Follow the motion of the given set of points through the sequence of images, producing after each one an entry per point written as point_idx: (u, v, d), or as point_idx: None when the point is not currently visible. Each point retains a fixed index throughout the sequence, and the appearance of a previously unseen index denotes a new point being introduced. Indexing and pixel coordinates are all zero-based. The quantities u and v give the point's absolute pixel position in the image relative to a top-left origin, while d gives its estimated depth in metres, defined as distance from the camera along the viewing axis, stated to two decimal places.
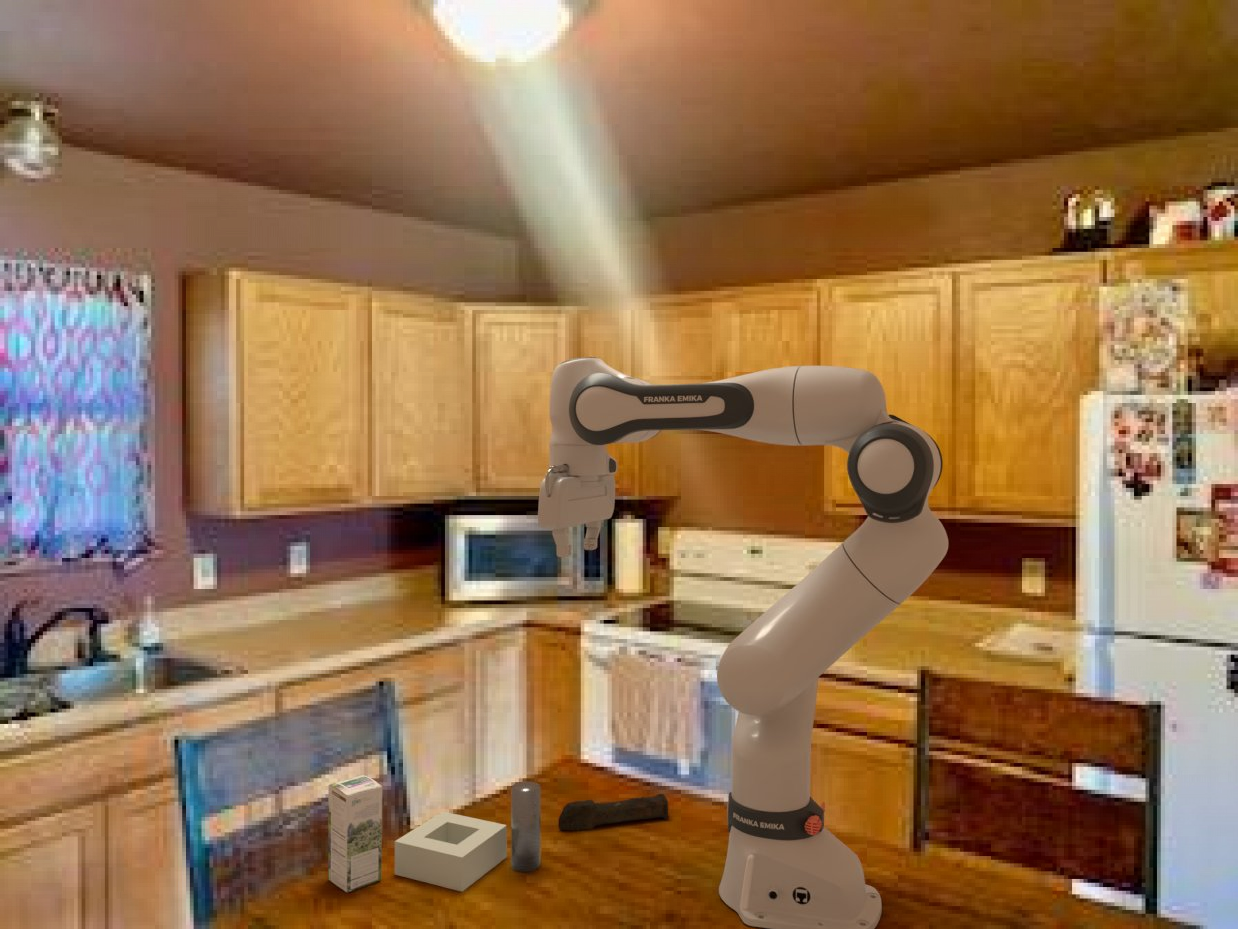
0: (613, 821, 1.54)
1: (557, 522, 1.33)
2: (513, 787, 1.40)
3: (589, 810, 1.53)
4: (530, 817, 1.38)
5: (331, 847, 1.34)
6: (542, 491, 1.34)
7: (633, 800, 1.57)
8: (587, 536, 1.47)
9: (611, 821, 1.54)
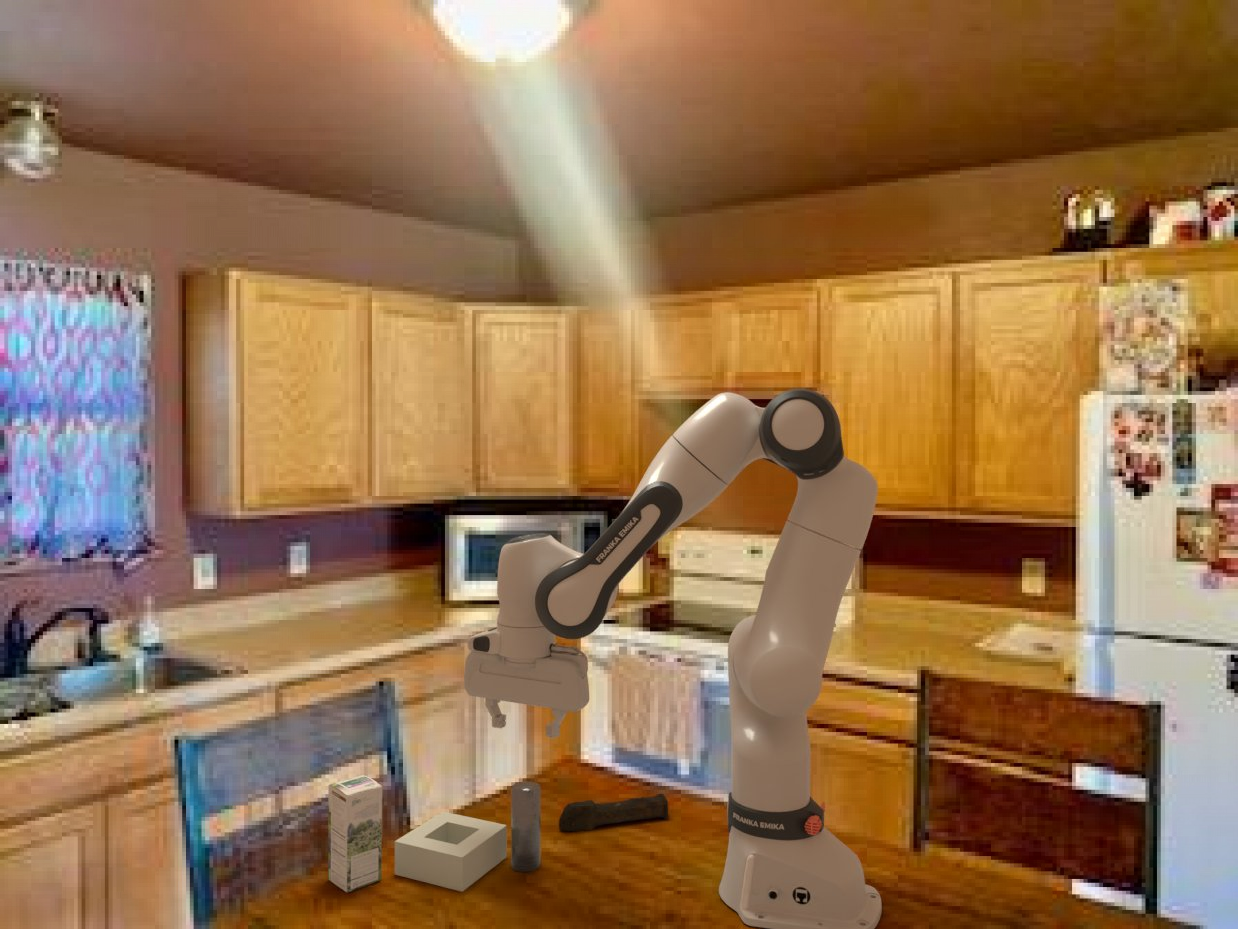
0: (613, 821, 1.54)
1: None
2: (513, 787, 1.40)
3: (589, 810, 1.53)
4: (530, 817, 1.38)
5: (331, 847, 1.34)
6: (578, 675, 1.34)
7: (633, 800, 1.57)
8: (495, 714, 1.41)
9: (611, 821, 1.54)
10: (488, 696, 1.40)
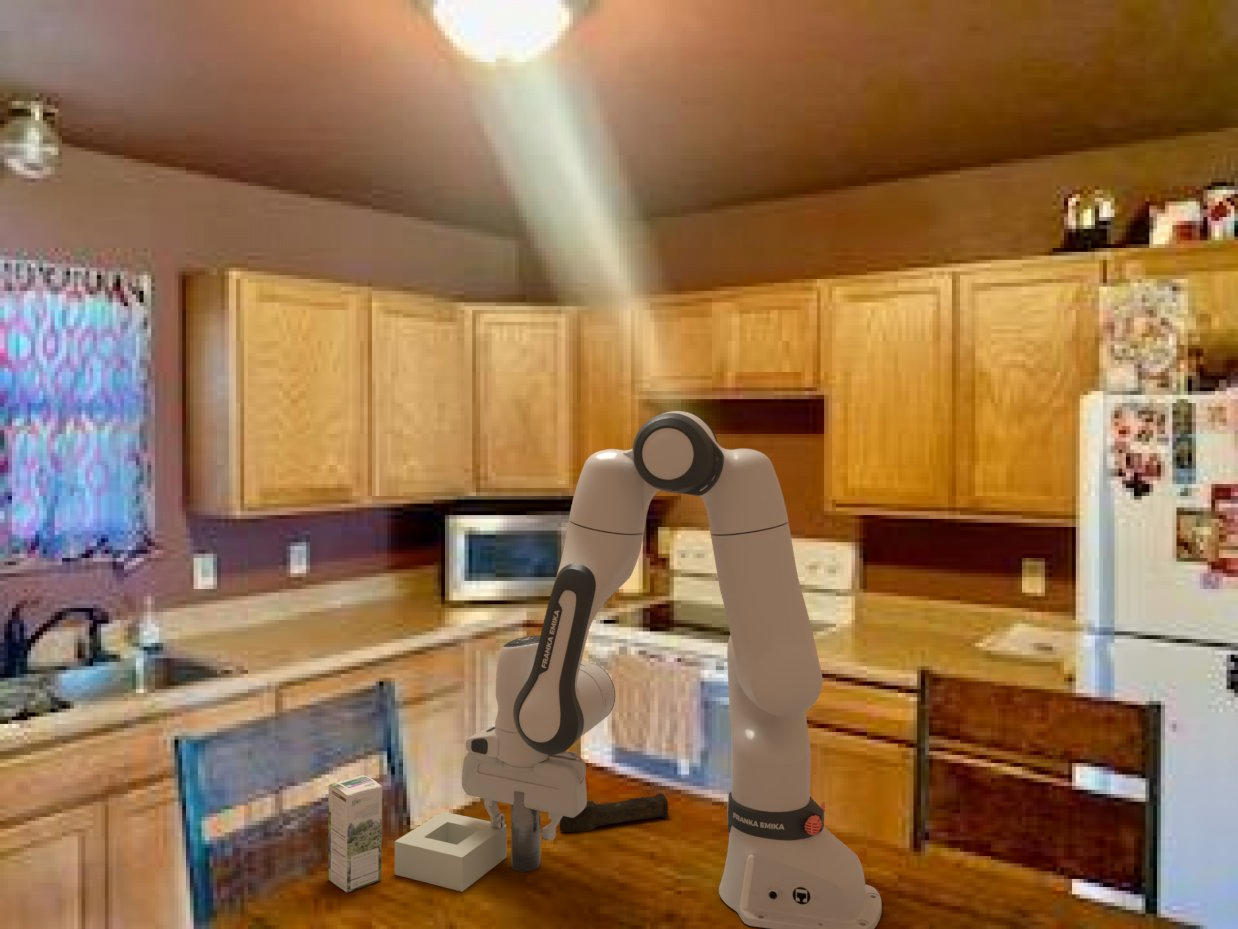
0: (614, 822, 1.54)
1: (586, 804, 1.37)
2: None
3: (590, 811, 1.52)
4: (530, 817, 1.38)
5: (331, 847, 1.34)
6: (576, 781, 1.35)
7: (633, 800, 1.57)
8: (494, 815, 1.41)
9: (612, 822, 1.54)
10: (486, 797, 1.41)
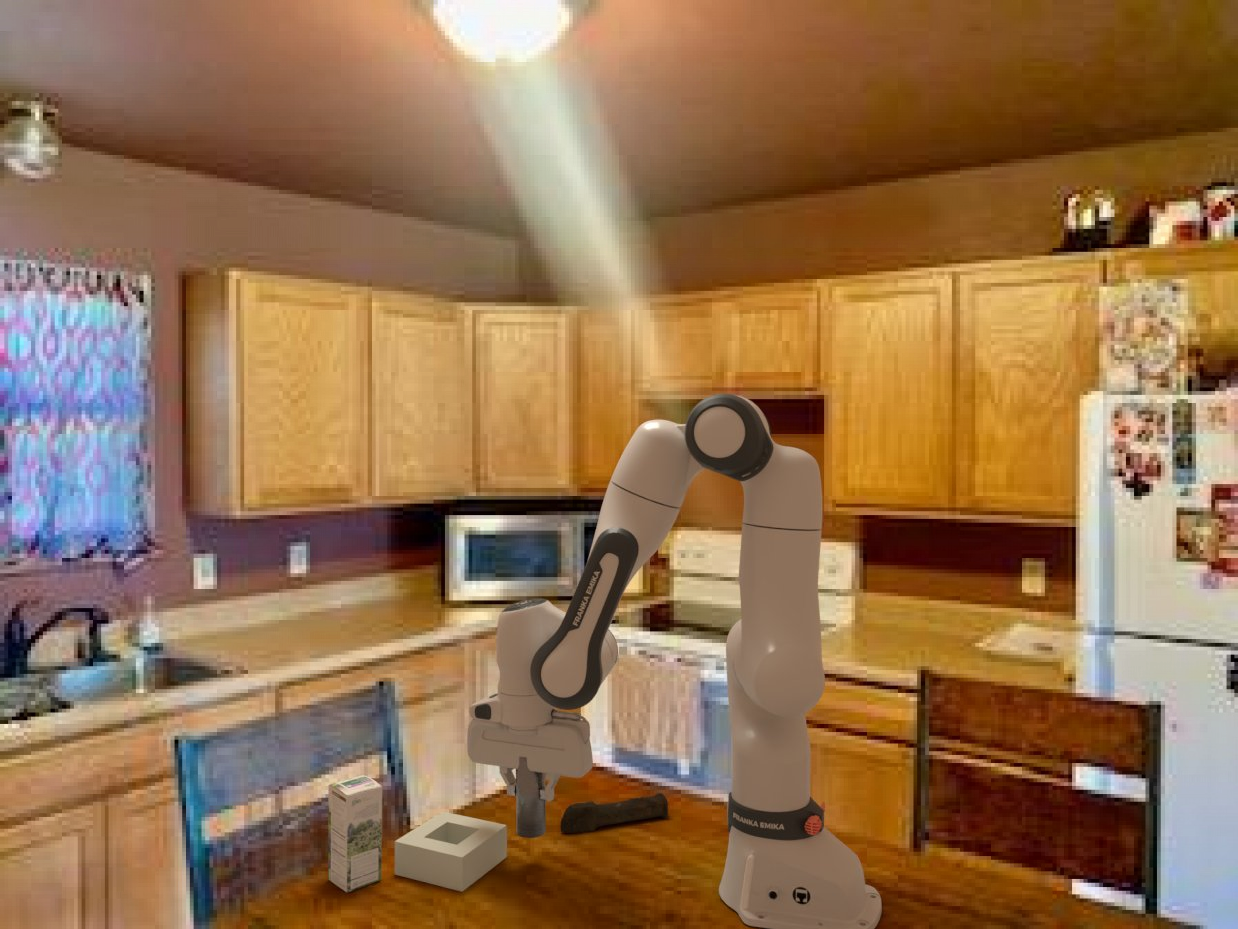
0: (614, 822, 1.54)
1: (592, 764, 1.37)
2: None
3: (591, 811, 1.52)
4: (535, 782, 1.38)
5: (331, 847, 1.34)
6: (580, 741, 1.34)
7: (633, 800, 1.57)
8: (510, 782, 1.41)
9: (612, 822, 1.54)
10: (492, 763, 1.40)
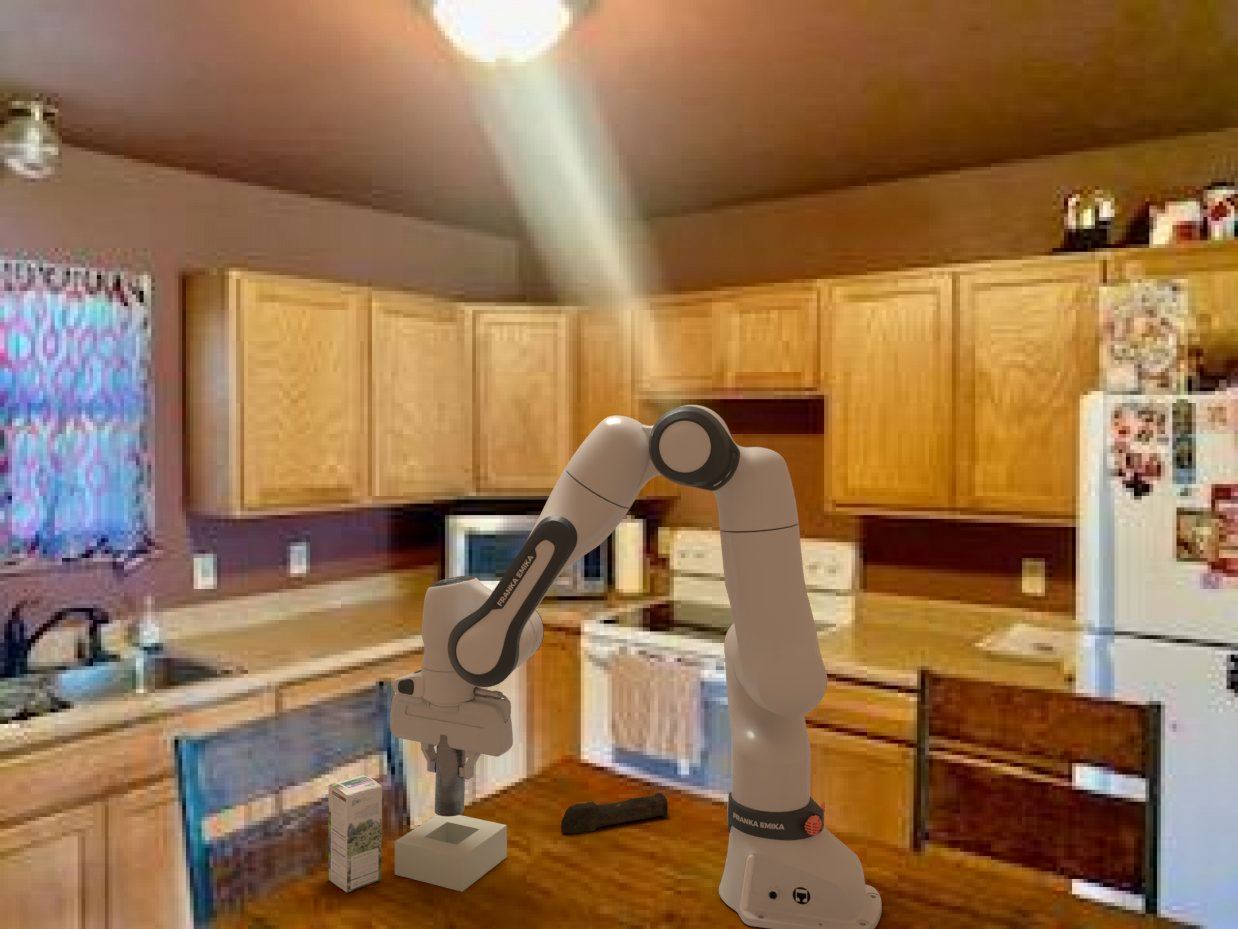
0: (615, 822, 1.54)
1: (512, 744, 1.37)
2: None
3: (591, 811, 1.52)
4: (455, 761, 1.38)
5: (331, 847, 1.34)
6: (500, 719, 1.34)
7: (633, 800, 1.57)
8: (431, 759, 1.40)
9: (613, 822, 1.54)
10: (413, 738, 1.40)
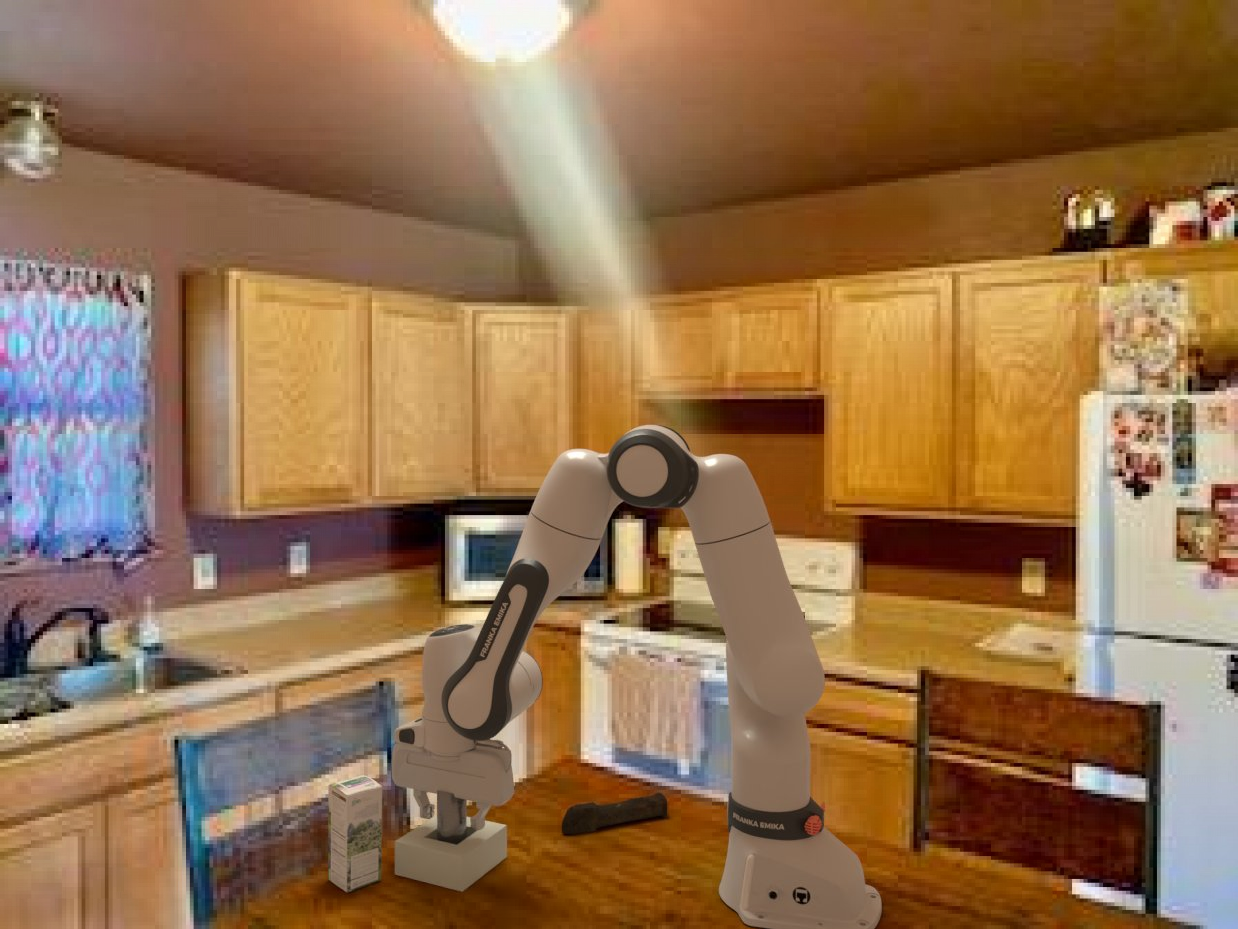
0: (615, 822, 1.54)
1: (513, 792, 1.37)
2: None
3: (592, 812, 1.52)
4: (455, 818, 1.38)
5: (331, 847, 1.34)
6: (501, 769, 1.34)
7: (633, 800, 1.57)
8: (423, 805, 1.41)
9: (613, 822, 1.54)
10: (415, 787, 1.40)
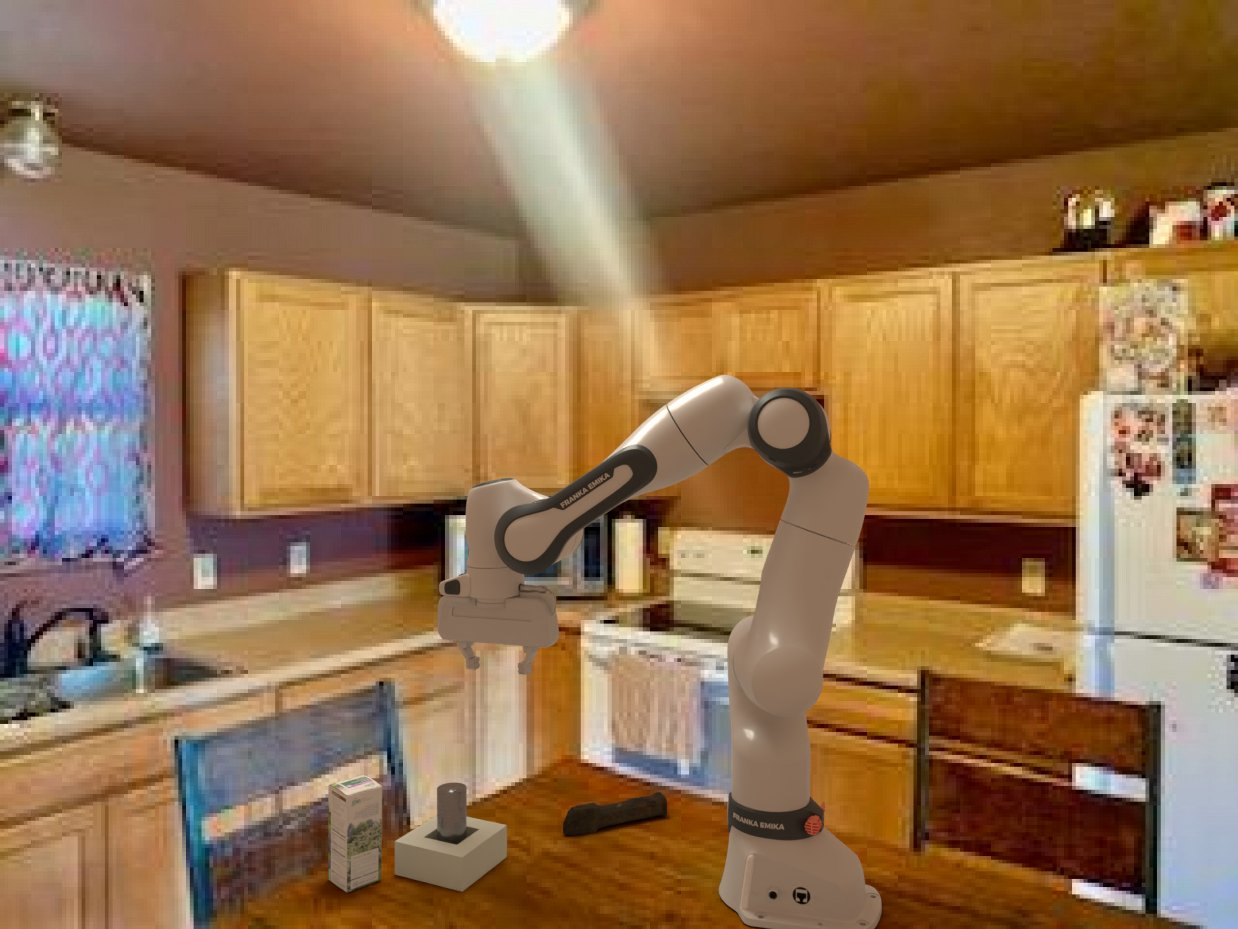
0: (616, 822, 1.54)
1: (558, 636, 1.41)
2: (439, 788, 1.39)
3: (593, 812, 1.52)
4: (455, 818, 1.38)
5: (331, 847, 1.34)
6: (547, 611, 1.38)
7: (633, 800, 1.57)
8: (469, 656, 1.45)
9: (614, 822, 1.53)
10: (461, 638, 1.44)
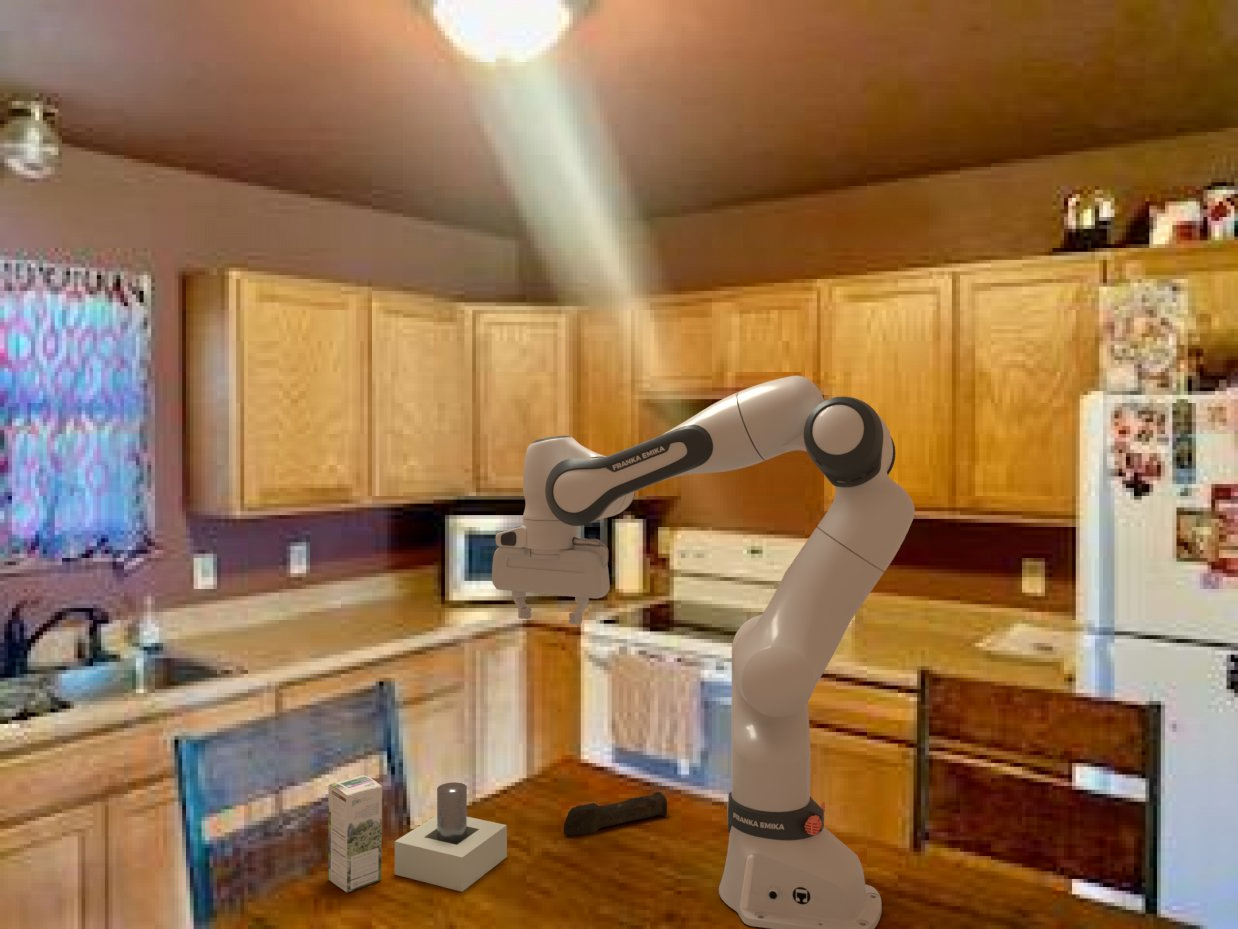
0: (616, 822, 1.54)
1: None
2: (439, 788, 1.39)
3: (594, 813, 1.51)
4: (456, 818, 1.38)
5: (331, 847, 1.34)
6: (599, 564, 1.44)
7: (633, 800, 1.57)
8: (521, 606, 1.51)
9: (614, 823, 1.53)
10: (515, 588, 1.50)
